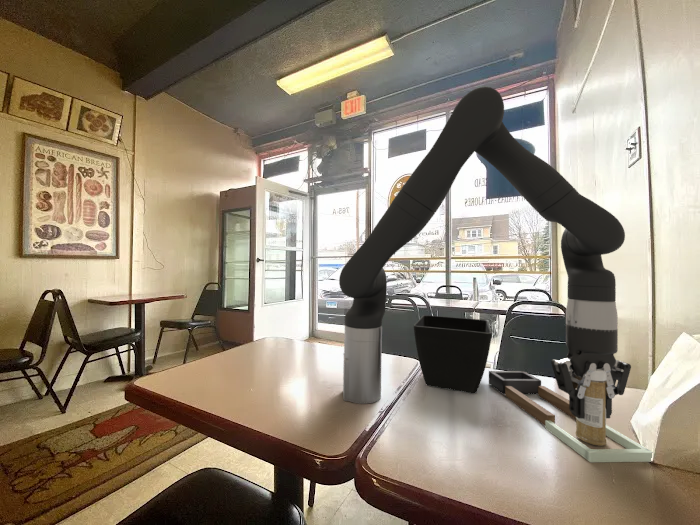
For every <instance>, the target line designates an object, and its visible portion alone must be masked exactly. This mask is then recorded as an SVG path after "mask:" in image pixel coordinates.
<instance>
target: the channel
mask: <svg viewBox="0 0 700 525" xmlns="http://www.w3.org/2000/svg"><path fill="white" fill-rule="evenodd" d="M504 396H505V397H506V398H507V399H508V400H510V401H511V402H512V403H514V404H515V405H516V406H517V407H519V408H520V409H521V410H523V411H525V412H526V413H527V414H528V415H530V416H531V417H532V418H534V419H535V420H537V422H539V423H540V424H542V425H543V426H544V427H545V420H550V421H552V422H553V423H554V424H556V415H555V414H554V413H552V412H551V411H549V410H548V409H546V408H545V407H543V406H541V405H540V404H539V403H537V402H536V401H534V400H533V399H531V398H530V397H528V396H527V395H526V394H522V393H521V392H519V391H518V390H516V389H515V388H513V387H512V386H505V394H504ZM537 396H538V397H539V398H540V399H542V400H544V401H545V402H547V403H548V404H550V405H551V406H553V407H554V408H556V409H558V410H560V411H561V412H563V413H564V414H566V415H568V416H569V417H571V418H572V419H573V420H575V421H576V416H574V415H573V414H572V413H571V412H570V409H569V398H568V399H567V398H566V397H564V396H562V395H561V394H559V393H557V392H556V391H554V390H551V389H550V388H548V387H546V386H544V385H541V386H538V394H537Z"/></svg>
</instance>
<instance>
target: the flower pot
mask: <svg viewBox="0 0 700 525" xmlns="http://www.w3.org/2000/svg"><path fill="white" fill-rule="evenodd" d="M413 332H414V333H413V334H414V339H415V341H414V342H415V347H416V352H417V358H418V361H419V366H420V370H421V373H422V377H423V380H424V383H425V385H426V386H428V387H432V388H433V387H434V388H436V389H437V388H438V389H444V390H450V391H456V392H463V393H469V394H476V393H477V392H478V389H479V388H480V385H481V382H482V379H483V377H484V373H485V370H486V366H487V362H488V359H489V358H488V357H489V354H490V348H491V344H492V343H491V342H492V337H493V336H492V335H493V332H492V330H491V327H490V324H489V321H488V320H487V319H480V318H479V319H478V318H477V319H476V318H467V317H466V318H465V317H453V316H442V315H440V316H439V315H425V314H424V315H422V316H421V317H420V318H419V319H418V320H417V322H415V323H414V324H413Z"/></svg>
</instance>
